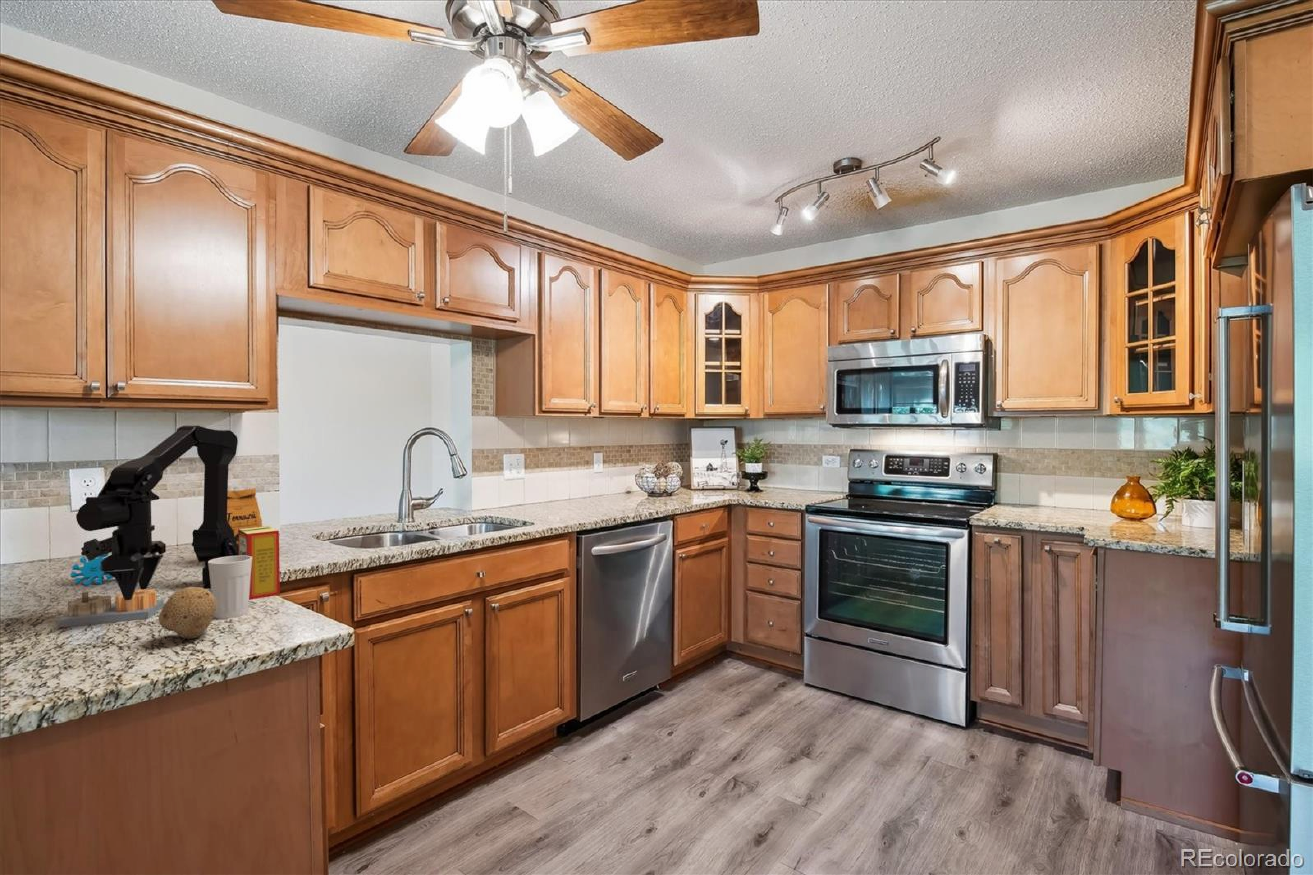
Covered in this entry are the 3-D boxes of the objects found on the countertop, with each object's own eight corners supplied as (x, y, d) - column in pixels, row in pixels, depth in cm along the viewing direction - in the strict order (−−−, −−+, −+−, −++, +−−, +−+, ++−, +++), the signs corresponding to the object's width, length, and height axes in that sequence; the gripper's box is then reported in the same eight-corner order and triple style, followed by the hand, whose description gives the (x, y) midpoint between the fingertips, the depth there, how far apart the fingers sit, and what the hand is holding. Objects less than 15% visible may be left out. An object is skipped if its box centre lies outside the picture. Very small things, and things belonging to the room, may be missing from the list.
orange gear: (160, 601, 142) (160, 587, 142) (150, 609, 136) (150, 595, 136) (122, 604, 139) (122, 591, 139) (110, 613, 133) (109, 599, 133)
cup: (261, 610, 140) (260, 557, 140) (226, 621, 133) (225, 564, 132) (235, 607, 143) (234, 554, 142) (200, 617, 135) (199, 561, 135)
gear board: (163, 605, 143) (163, 590, 143) (148, 618, 134) (148, 602, 134) (79, 613, 138) (79, 597, 138) (57, 627, 128) (57, 610, 128)
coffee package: (267, 563, 187) (266, 489, 186) (217, 570, 178) (215, 492, 177) (258, 558, 194) (257, 486, 193) (209, 564, 185) (208, 489, 184)
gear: (60, 581, 158) (82, 548, 165) (69, 593, 162) (89, 560, 169) (112, 584, 161) (131, 551, 168) (119, 596, 165) (137, 564, 172)
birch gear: (116, 605, 139) (116, 584, 139) (103, 614, 133) (103, 592, 132) (76, 608, 136) (76, 588, 136) (61, 618, 130) (60, 596, 130)
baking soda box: (279, 594, 153) (278, 529, 153) (248, 600, 148) (247, 532, 148) (269, 587, 160) (268, 524, 159) (239, 592, 155) (238, 527, 155)
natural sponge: (152, 649, 116) (151, 595, 116) (167, 634, 125) (166, 584, 124) (211, 642, 120) (210, 590, 120) (222, 628, 128) (221, 579, 128)
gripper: (105, 519, 142) (106, 587, 143) (66, 532, 125) (68, 610, 126) (165, 516, 147) (167, 582, 147) (136, 529, 130) (138, 604, 130)
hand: (136, 594), depth 137 cm, fingers open, 9 cm apart
